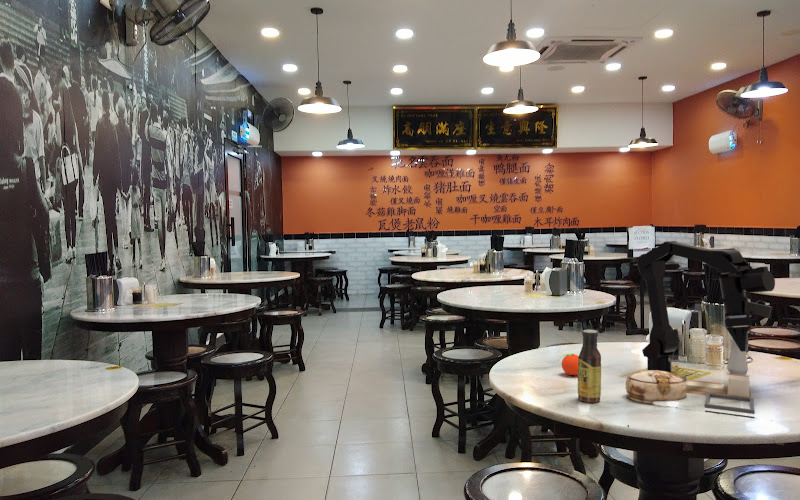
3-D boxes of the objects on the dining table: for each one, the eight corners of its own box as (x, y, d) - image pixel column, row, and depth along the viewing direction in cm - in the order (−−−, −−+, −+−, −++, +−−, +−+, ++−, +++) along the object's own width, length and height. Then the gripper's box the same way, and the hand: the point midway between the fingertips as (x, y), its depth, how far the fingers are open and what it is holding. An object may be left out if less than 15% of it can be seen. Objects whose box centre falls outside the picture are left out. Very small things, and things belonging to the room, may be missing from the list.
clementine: (557, 376, 185) (556, 355, 184) (559, 371, 191) (559, 350, 191) (582, 379, 182) (582, 356, 181) (584, 373, 188) (584, 352, 188)
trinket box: (618, 397, 163) (618, 370, 162) (651, 388, 170) (651, 362, 170) (660, 410, 151) (660, 381, 151) (694, 400, 159) (694, 372, 158)
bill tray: (704, 411, 149) (704, 404, 149) (706, 399, 158) (706, 392, 158) (754, 418, 143) (754, 410, 143) (753, 405, 153) (753, 398, 152)
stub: (728, 394, 158) (728, 378, 158) (728, 389, 164) (728, 373, 163) (749, 397, 156) (749, 380, 156) (748, 391, 161) (749, 375, 161)
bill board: (676, 395, 162) (676, 383, 162) (680, 384, 173) (680, 373, 173) (750, 404, 153) (751, 392, 153) (749, 392, 164) (749, 380, 163)
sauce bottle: (574, 397, 163) (573, 328, 162) (595, 396, 164) (594, 327, 163) (583, 404, 157) (583, 333, 156) (605, 403, 157) (605, 332, 156)
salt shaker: (751, 378, 178) (751, 337, 177) (730, 377, 179) (731, 336, 179) (743, 373, 184) (744, 333, 183) (724, 372, 185) (724, 333, 184)
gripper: (769, 292, 149) (779, 351, 148) (764, 290, 166) (774, 344, 164) (720, 296, 155) (730, 354, 153) (721, 294, 171) (730, 346, 170)
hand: (742, 349), depth 160 cm, fingers open, 9 cm apart
